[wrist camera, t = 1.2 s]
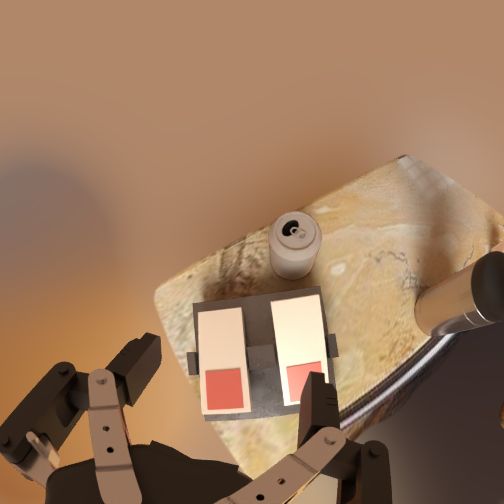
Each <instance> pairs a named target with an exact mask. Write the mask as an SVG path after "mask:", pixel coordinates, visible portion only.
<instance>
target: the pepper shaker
mask: <svg viewBox="0 0 504 504" xmlns="http://www.w3.org/2000/svg"><path fill="white" fill-rule="evenodd" d="M492 251H500V252H503V253H504V240H503V241H502V242H500V243H499V244H497V245H496V246H495V247H493V248H492V249H491V252H492Z"/></svg>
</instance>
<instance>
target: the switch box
mask: <svg viewBox="0 0 504 504" xmlns="http://www.w3.org/2000/svg"><path fill="white" fill-rule="evenodd" d="M314 294H318V295H319V298H320V305H321V313H322V321H323V330H324V338H325V348H326V357H327V368H328V379H329V383H332V384H333V386H334V387H335V389H336V384H335V377H334V369H333V362H332V358H334V357H339V355H338V349H337V342H336V336H335V334H330V335H328V329H327V323H326V317H325V312H324V306H323V300H322V295H321V290H320V286H316V287H309V288H303V289H297V290H290V291H284V292H277V293H270V294H263V295H256V296H249V297H241V298H234V299H226V300H217V301H209V302H200V303H193V317H194V329H195V340H196V351H197V352H187V361H188V371H189V375H198V374H199V379H200V370H199V339H198V312H206V311H215V310H224V309H232V308H240V307H241V308H242V311H243V316H244V327H245V338H246V348H247V359H248V369H249V379H250V389H251V399H252V408H253V412H244V413H230V414H204V417H205V421H228V420H244V419H255V418H265V417H274V416H282V415H289V414H295V413H300V404H294V405H287V406H284V398H283V391H282V383H281V375H280V367H279V360H278V352H277V345H276V337H275V330H274V323H273V316H272V308H271V301H276V300H283V299H289V298H296V297H302V296H308V295H314Z"/></svg>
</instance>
